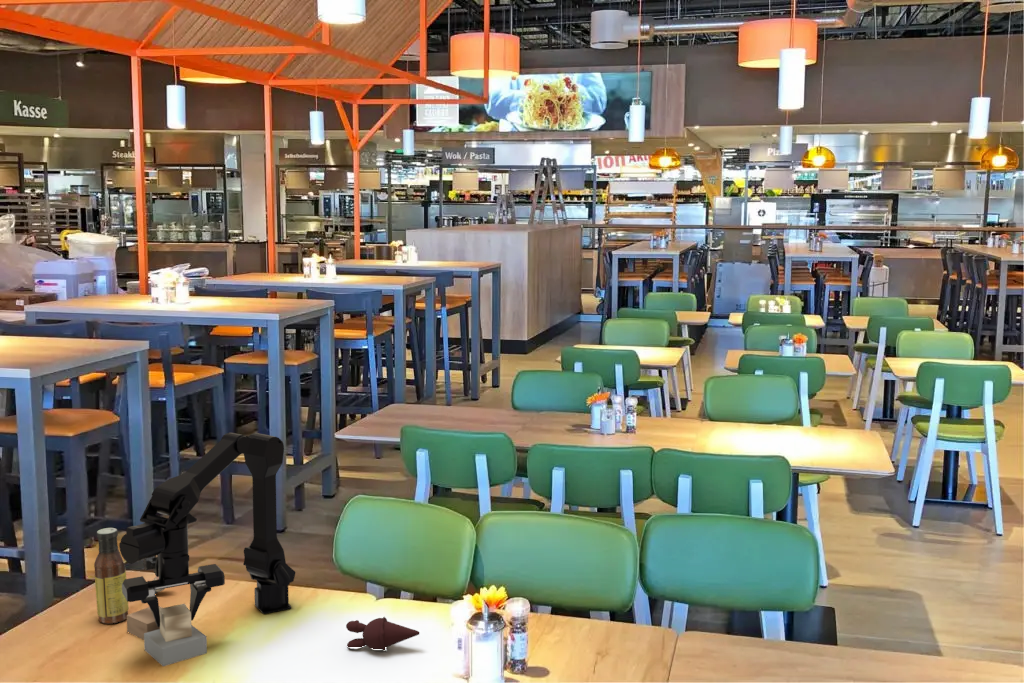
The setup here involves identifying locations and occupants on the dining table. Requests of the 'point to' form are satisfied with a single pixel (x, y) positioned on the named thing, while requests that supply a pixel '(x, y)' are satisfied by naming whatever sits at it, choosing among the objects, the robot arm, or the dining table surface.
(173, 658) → the slate block
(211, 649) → the dining table surface
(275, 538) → the robot arm
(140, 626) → the walnut block
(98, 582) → the sauce bottle
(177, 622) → the birch cube
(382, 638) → the icecream
